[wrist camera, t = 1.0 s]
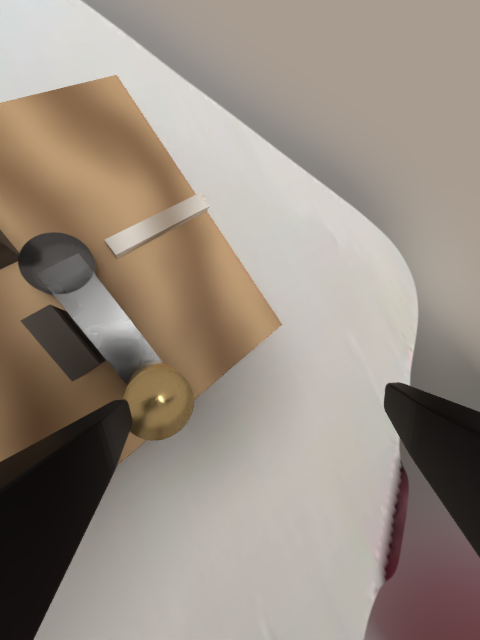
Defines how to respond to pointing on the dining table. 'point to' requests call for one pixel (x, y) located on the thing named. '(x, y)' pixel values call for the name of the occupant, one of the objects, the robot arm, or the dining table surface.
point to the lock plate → (109, 259)
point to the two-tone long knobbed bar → (109, 333)
